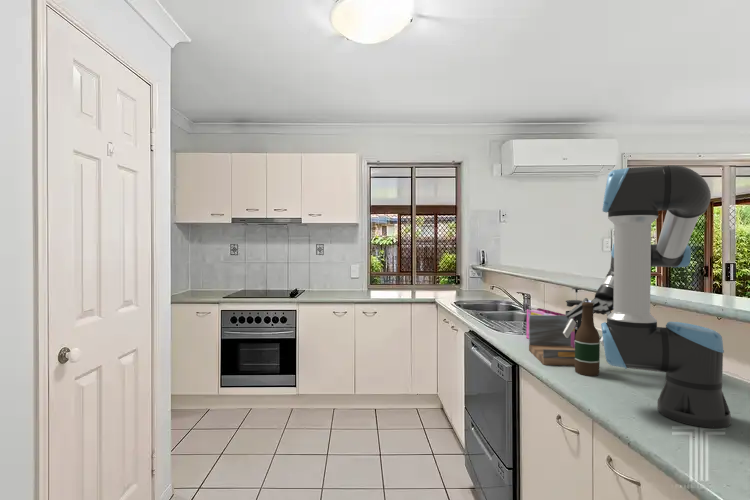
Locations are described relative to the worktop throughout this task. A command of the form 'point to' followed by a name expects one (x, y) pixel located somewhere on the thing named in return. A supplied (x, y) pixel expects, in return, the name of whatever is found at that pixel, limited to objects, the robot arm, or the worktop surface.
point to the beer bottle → (587, 344)
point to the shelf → (550, 340)
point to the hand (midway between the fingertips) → (583, 339)
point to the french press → (576, 302)
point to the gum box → (547, 312)
